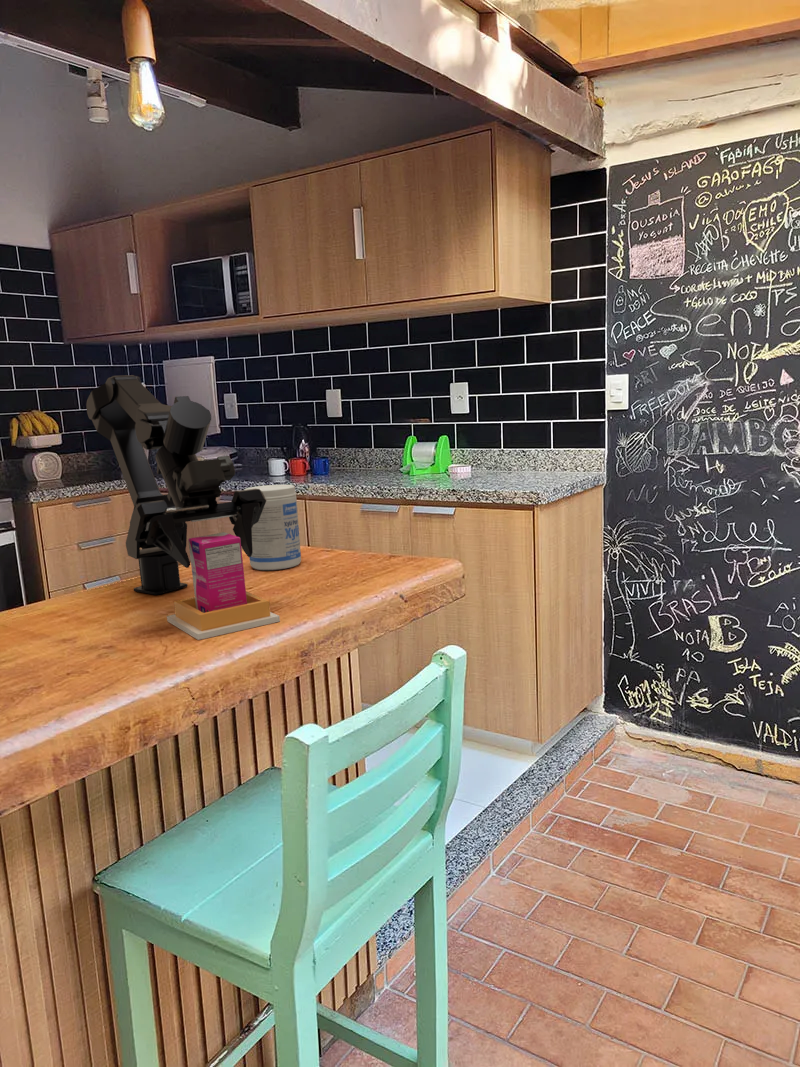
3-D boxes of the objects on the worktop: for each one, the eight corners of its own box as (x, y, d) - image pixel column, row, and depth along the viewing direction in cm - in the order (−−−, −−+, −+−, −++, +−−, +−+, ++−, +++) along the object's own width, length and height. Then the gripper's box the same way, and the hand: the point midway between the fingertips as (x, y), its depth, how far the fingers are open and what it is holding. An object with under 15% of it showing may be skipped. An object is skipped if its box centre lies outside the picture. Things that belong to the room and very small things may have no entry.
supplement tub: (300, 569, 147) (294, 488, 144) (247, 573, 146) (240, 492, 143) (302, 558, 156) (296, 482, 153) (252, 562, 155) (246, 485, 153)
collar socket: (167, 621, 117) (165, 601, 117) (244, 605, 124) (242, 586, 123) (198, 640, 107) (195, 618, 107) (279, 621, 114) (278, 600, 114)
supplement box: (195, 615, 116) (187, 537, 114) (233, 607, 119) (226, 531, 117) (210, 624, 111) (202, 542, 109) (250, 615, 115) (243, 536, 113)
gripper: (128, 444, 109) (164, 535, 102) (255, 433, 120) (296, 515, 113) (117, 497, 117) (150, 585, 110) (238, 483, 127) (275, 562, 120)
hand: (220, 560), depth 113 cm, fingers open, 9 cm apart
